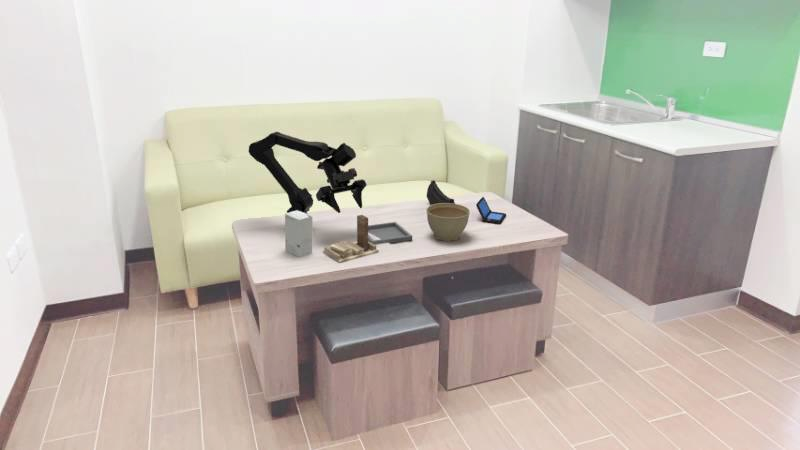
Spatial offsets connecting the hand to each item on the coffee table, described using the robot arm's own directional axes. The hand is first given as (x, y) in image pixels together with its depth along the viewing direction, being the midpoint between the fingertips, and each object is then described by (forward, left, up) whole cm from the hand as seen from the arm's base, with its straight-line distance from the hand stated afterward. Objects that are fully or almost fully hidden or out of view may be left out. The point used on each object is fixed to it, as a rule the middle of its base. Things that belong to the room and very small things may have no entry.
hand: (350, 210), depth 209 cm
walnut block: (+2, -7, -13) cm, 15 cm away
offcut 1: (-7, -9, -11) cm, 16 cm away
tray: (+14, +3, -13) cm, 20 cm away
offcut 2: (-7, -10, -12) cm, 17 cm away
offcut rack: (-3, -9, -13) cm, 16 cm away
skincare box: (-20, -2, -13) cm, 24 cm away
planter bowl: (+36, -6, -13) cm, 39 cm away
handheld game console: (+63, +6, -14) cm, 65 cm away
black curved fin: (+46, +19, -14) cm, 52 cm away
